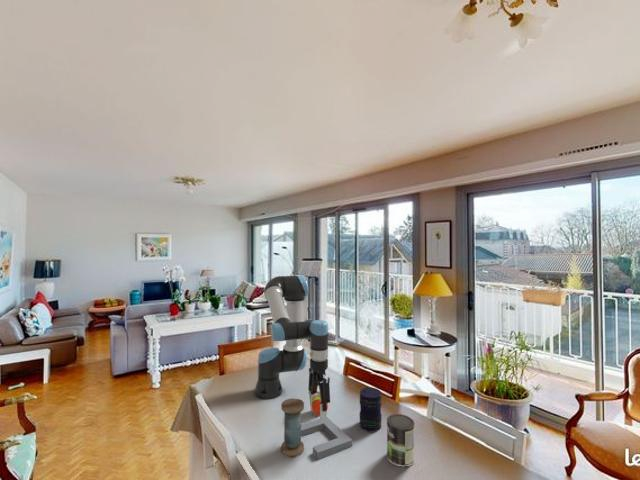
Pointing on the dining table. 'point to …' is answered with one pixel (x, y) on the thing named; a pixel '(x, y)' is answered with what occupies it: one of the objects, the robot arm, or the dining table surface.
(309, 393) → the coffee cup
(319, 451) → the notched board
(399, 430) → the coffee can
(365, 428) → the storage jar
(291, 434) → the bobbin
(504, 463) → the dining table surface
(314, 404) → the clementine
